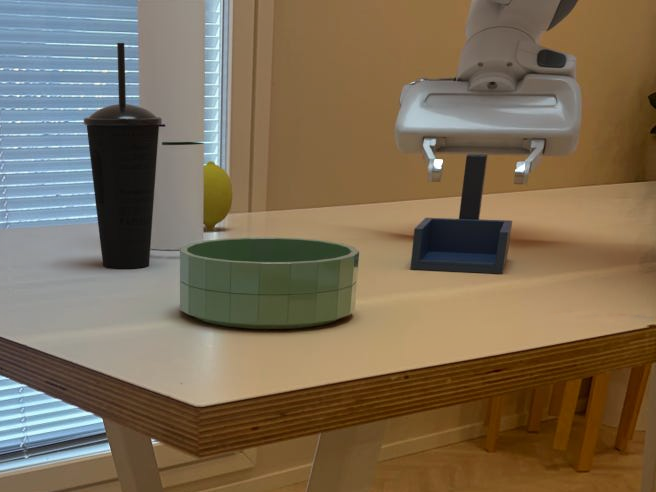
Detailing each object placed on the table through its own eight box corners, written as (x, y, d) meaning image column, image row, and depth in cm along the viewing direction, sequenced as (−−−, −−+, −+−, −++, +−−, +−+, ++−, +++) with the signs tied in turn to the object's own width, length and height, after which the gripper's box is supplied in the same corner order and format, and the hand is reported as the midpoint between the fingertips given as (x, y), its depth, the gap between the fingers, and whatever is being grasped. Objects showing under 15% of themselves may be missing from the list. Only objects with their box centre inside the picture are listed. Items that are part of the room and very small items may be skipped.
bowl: (366, 302, 89) (371, 241, 86) (335, 337, 77) (340, 267, 74) (208, 293, 92) (209, 234, 90) (156, 325, 81) (155, 258, 78)
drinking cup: (155, 271, 103) (152, 41, 93) (81, 269, 104) (71, 42, 94) (169, 260, 110) (167, 43, 100) (99, 258, 111) (91, 44, 101)
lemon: (215, 226, 135) (216, 159, 131) (240, 230, 131) (241, 161, 127) (180, 229, 132) (180, 160, 129) (204, 233, 128) (205, 163, 125)
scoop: (507, 257, 111) (522, 155, 106) (502, 273, 102) (518, 162, 97) (423, 253, 114) (434, 153, 109) (410, 269, 104) (421, 160, 99)
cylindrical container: (159, 240, 123) (156, -5, 112) (213, 243, 121) (216, -8, 109) (130, 247, 118) (124, -10, 106) (186, 251, 115) (187, -12, 103)
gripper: (403, 57, 118) (382, 156, 114) (592, 56, 112) (575, 161, 109) (404, 100, 124) (384, 196, 120) (583, 101, 118) (568, 202, 115)
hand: (476, 179), depth 115 cm, fingers open, 8 cm apart
